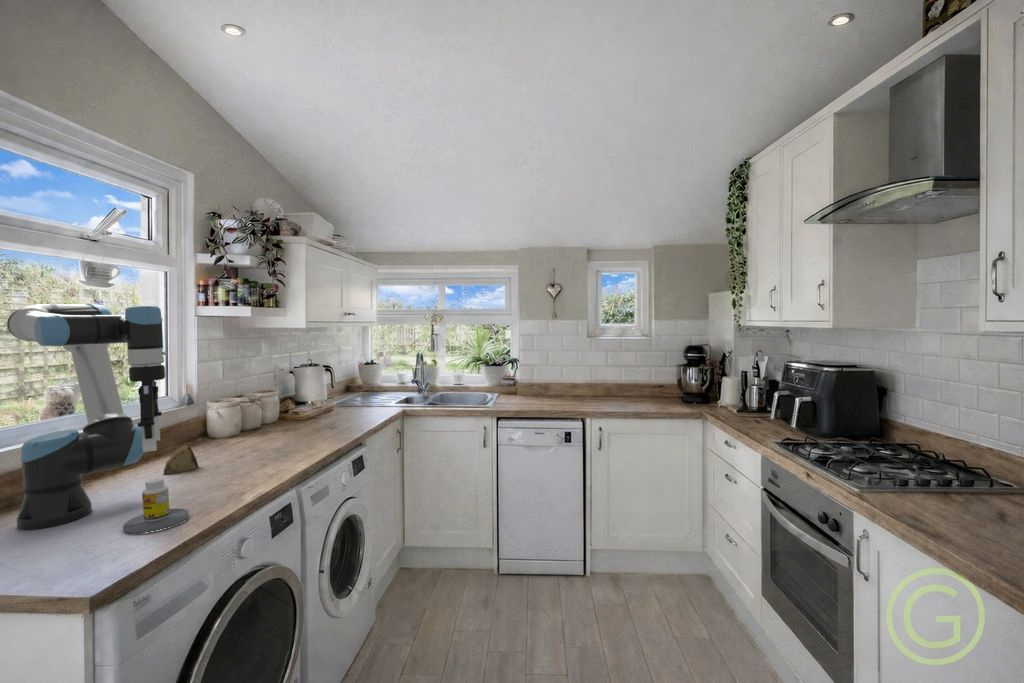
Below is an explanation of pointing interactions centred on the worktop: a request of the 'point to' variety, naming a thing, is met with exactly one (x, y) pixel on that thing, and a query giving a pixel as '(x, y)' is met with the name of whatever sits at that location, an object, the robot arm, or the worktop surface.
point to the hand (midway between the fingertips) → (152, 445)
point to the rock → (181, 461)
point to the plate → (142, 526)
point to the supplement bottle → (155, 500)
